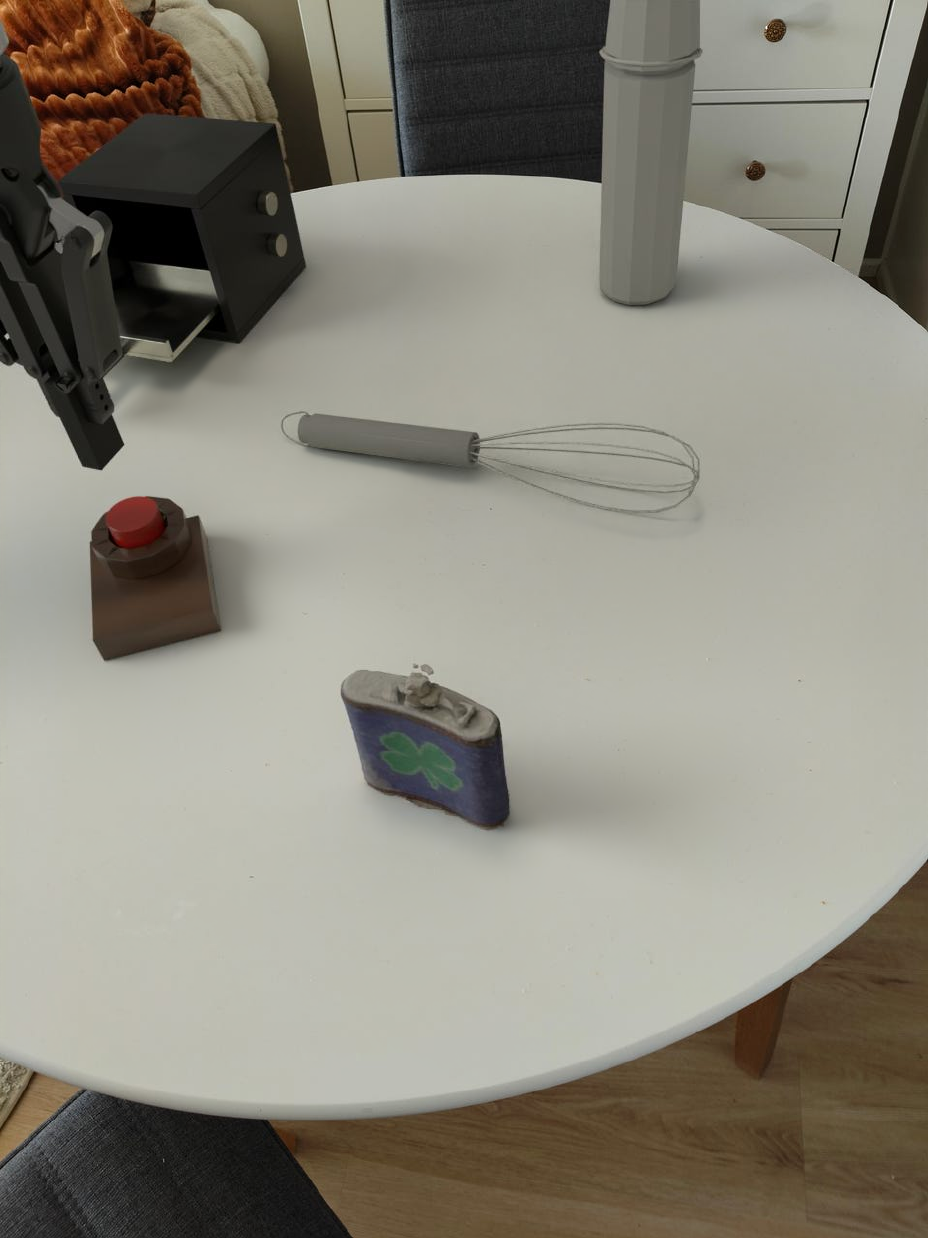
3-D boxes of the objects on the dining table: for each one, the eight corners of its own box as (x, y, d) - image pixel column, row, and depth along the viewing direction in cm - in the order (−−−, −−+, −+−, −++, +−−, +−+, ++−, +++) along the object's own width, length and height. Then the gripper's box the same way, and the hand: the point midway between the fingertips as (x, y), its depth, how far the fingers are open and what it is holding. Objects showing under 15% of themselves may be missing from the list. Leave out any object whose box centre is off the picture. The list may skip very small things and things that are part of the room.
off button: (113, 521, 71) (104, 503, 70) (163, 509, 71) (155, 491, 70) (115, 555, 69) (106, 536, 67) (166, 542, 69) (159, 523, 68)
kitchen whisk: (300, 415, 83) (284, 351, 79) (703, 488, 74) (713, 420, 69) (266, 461, 80) (247, 396, 75) (685, 544, 70) (694, 476, 65)
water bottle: (672, 314, 89) (699, 0, 70) (586, 305, 91) (591, -2, 72) (689, 261, 95) (719, -42, 76) (608, 254, 97) (617, -43, 78)
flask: (357, 785, 59) (324, 673, 51) (380, 747, 61) (352, 632, 53) (500, 838, 56) (489, 727, 48) (520, 796, 57) (513, 682, 49)
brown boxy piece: (99, 551, 74) (79, 511, 71) (205, 525, 75) (190, 485, 72) (104, 661, 67) (82, 622, 64) (221, 631, 68) (205, 591, 65)
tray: (19, 389, 84) (-37, 277, 76) (138, 276, 95) (100, 168, 88) (129, 409, 81) (82, 294, 73) (239, 290, 92) (209, 179, 84)
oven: (113, 324, 96) (56, 180, 85) (187, 251, 104) (145, 112, 93) (248, 344, 91) (207, 195, 81) (315, 267, 100) (285, 123, 89)
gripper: (-228, 92, 47) (-13, 474, 65) (-7, 113, 43) (157, 512, 61) (-118, 33, 51) (56, 405, 69) (92, 48, 48) (218, 437, 65)
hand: (103, 455), depth 65 cm, fingers closed
